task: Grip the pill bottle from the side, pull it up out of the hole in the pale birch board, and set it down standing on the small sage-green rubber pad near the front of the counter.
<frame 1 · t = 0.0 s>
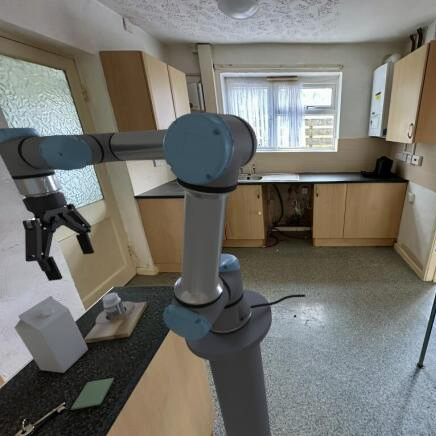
hand: (74, 265, 67), 23 cm above the counter, tool pointing down, fingers open, 13 cm apart
pill bottle: (117, 316, 80), resting in board
pad: (94, 393, 56), on the counter
board: (119, 322, 77), on the counter
milk carton: (66, 360, 65), on the counter
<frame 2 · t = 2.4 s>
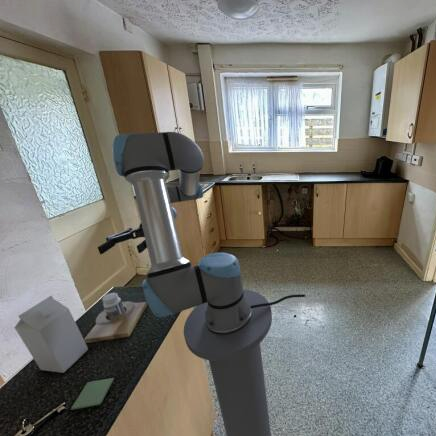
hand: (119, 250, 81), 20 cm above the counter, tool horizontal, fingers open, 13 cm apart
nothing on the counter moved.
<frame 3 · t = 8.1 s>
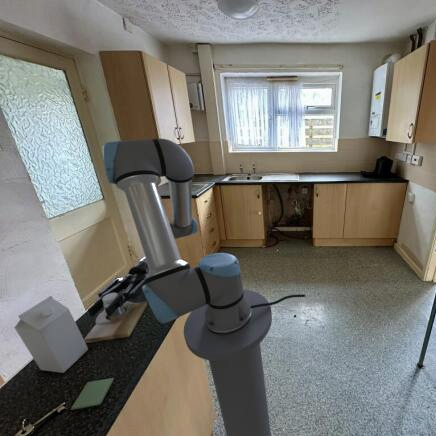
hand: (99, 312, 72), 7 cm above the counter, tool horizontal, fingers closed on pill bottle, 5 cm apart
pill bottle: (117, 316, 80), resting in board, touching gripper
everything else where it was.
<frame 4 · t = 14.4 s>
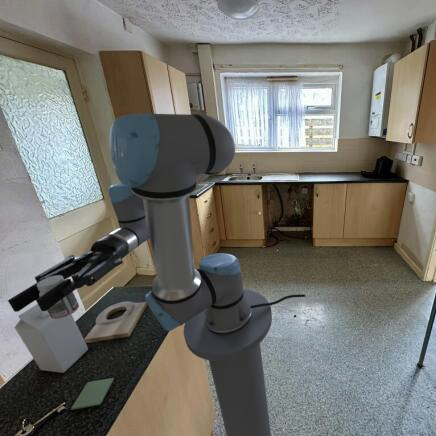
hand: (27, 305, 45), 28 cm above the counter, tool horizontal, fingers closed on pill bottle, 5 cm apart
pill bottle: (66, 312, 52), point 21 cm above the counter, touching gripper
everything else where it was.
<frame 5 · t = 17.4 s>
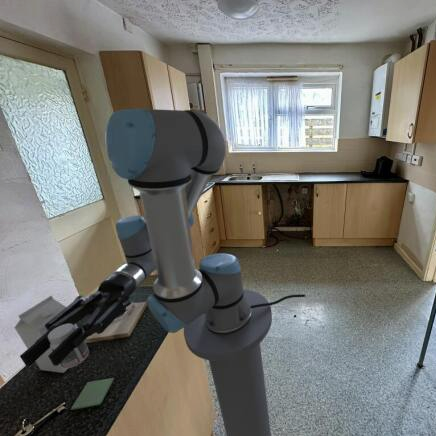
hand: (39, 360, 45), 18 cm above the counter, tool horizontal, fingers closed on pill bottle, 5 cm apart
pill bottle: (76, 359, 52), point 11 cm above the counter, touching gripper
everything else where it was.
when the fingers open (7 cm above the counter, at t = 20.6 s): pill bottle stays where it is, resting on pad.
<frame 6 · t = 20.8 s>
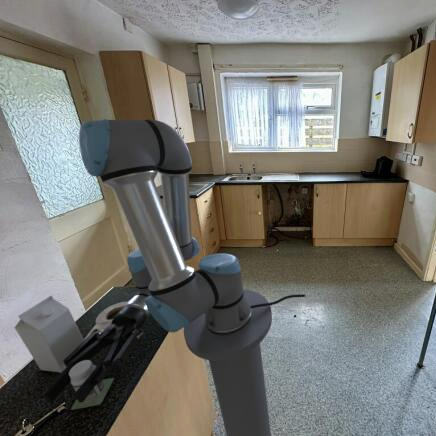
hand: (63, 398, 49), 7 cm above the counter, tool horizontal, fingers open, 6 cm apart
pill bottle: (93, 392, 56), resting on pad
everything else where it was.
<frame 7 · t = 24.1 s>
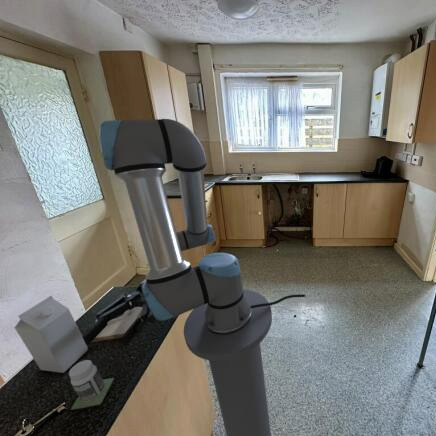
hand: (104, 341, 60), 8 cm above the counter, tool horizontal, fingers open, 10 cm apart
nothing on the counter moved.
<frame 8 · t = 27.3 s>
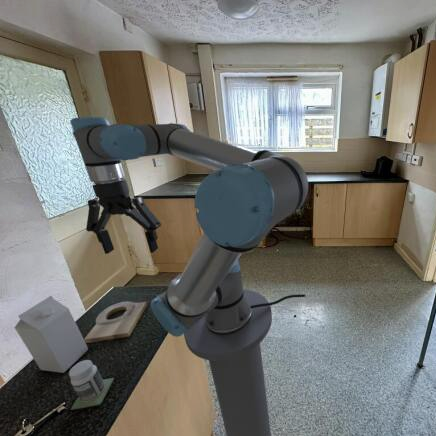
hand: (132, 251, 70), 25 cm above the counter, tool pointing down, fingers open, 13 cm apart
nothing on the counter moved.
at the end: pill bottle 0.1 cm off-centre on the pad, point 0.3 cm above the pad's base; pill bottle tilted 0°; the gripper is holding nothing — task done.
